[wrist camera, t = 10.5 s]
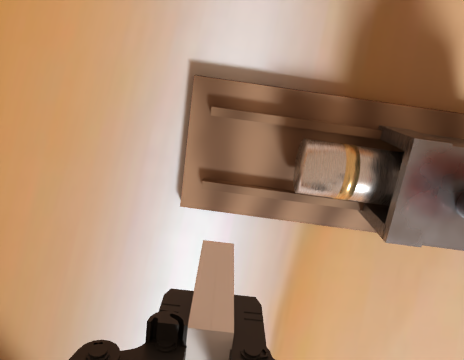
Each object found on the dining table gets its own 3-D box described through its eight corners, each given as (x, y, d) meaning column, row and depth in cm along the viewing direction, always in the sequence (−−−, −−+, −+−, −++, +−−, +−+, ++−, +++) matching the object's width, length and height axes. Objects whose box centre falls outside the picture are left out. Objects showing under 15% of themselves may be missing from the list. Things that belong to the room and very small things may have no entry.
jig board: (181, 202, 39) (178, 209, 37) (195, 75, 36) (192, 75, 34) (477, 242, 40) (491, 251, 38) (520, 121, 37) (537, 125, 34)
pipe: (290, 184, 37) (299, 201, 32) (300, 133, 36) (310, 143, 31) (389, 197, 37) (412, 216, 33) (402, 148, 36) (428, 160, 31)
